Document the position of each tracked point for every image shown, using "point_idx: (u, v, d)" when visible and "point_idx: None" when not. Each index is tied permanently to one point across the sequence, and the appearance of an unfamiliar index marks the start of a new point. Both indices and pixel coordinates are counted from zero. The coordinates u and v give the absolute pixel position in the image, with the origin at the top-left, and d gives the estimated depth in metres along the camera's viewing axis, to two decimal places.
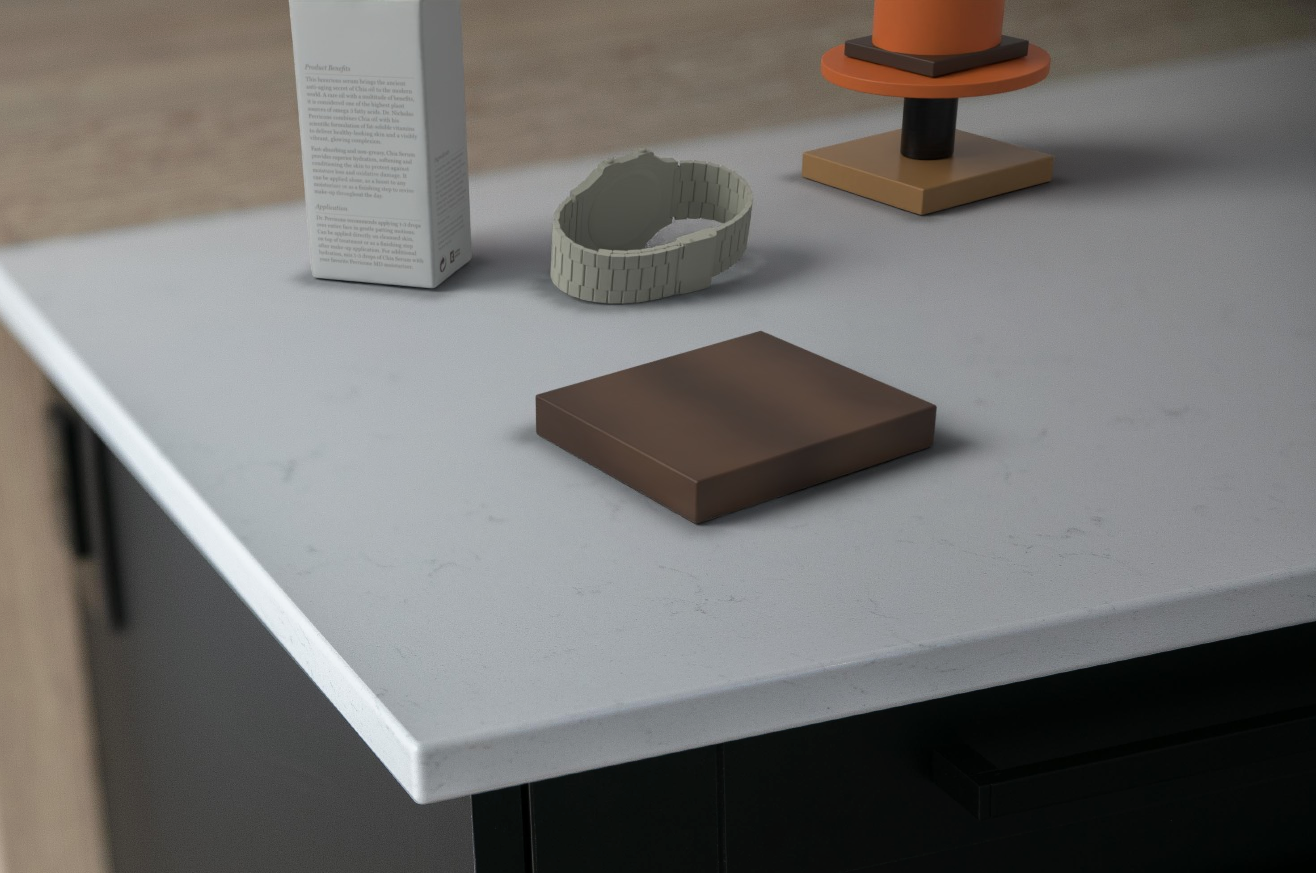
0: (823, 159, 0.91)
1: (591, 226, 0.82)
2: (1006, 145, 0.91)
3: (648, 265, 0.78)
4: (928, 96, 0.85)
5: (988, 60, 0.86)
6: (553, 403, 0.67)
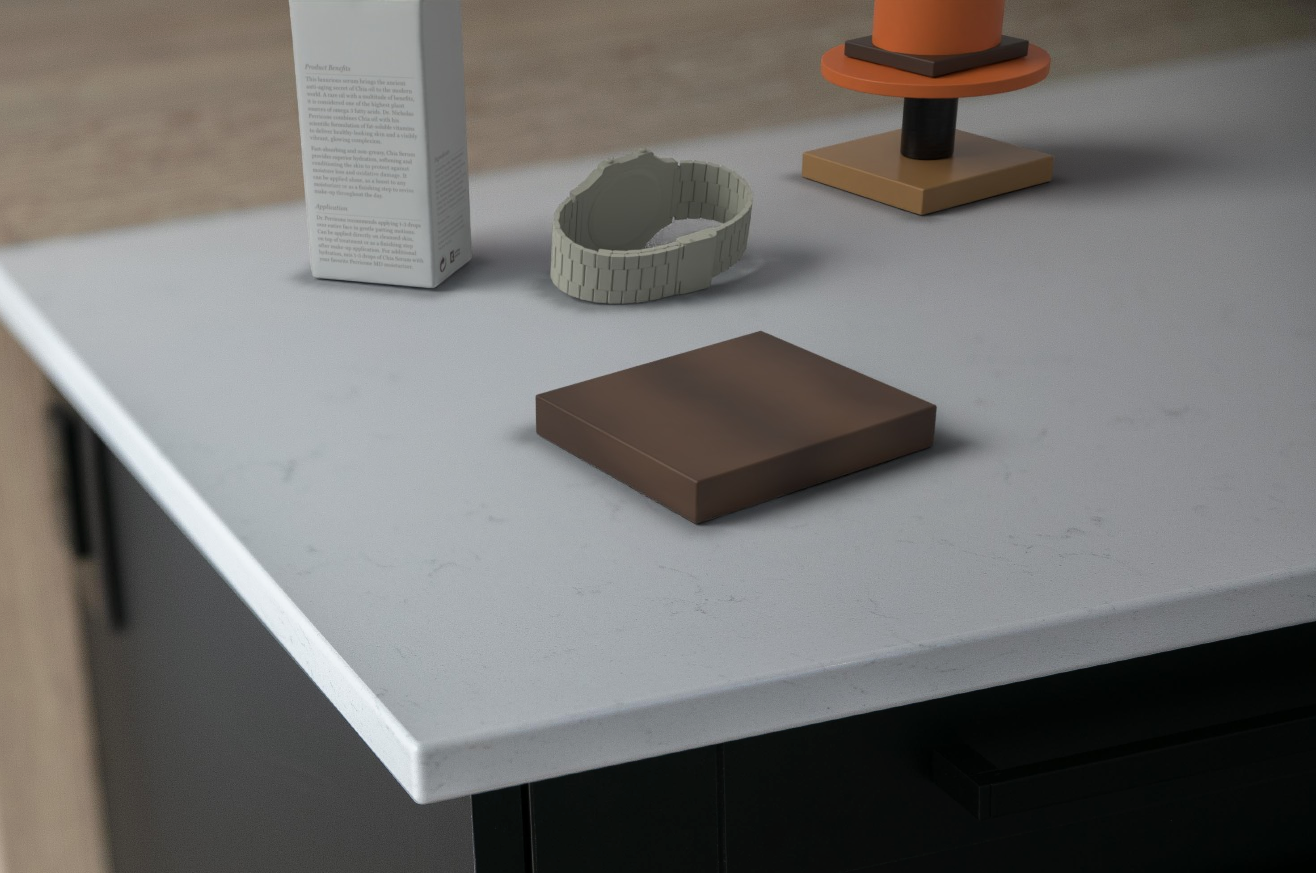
0: (823, 159, 0.91)
1: (591, 226, 0.82)
2: (1006, 145, 0.91)
3: (648, 265, 0.78)
4: (928, 96, 0.85)
5: (988, 60, 0.86)
6: (553, 403, 0.67)
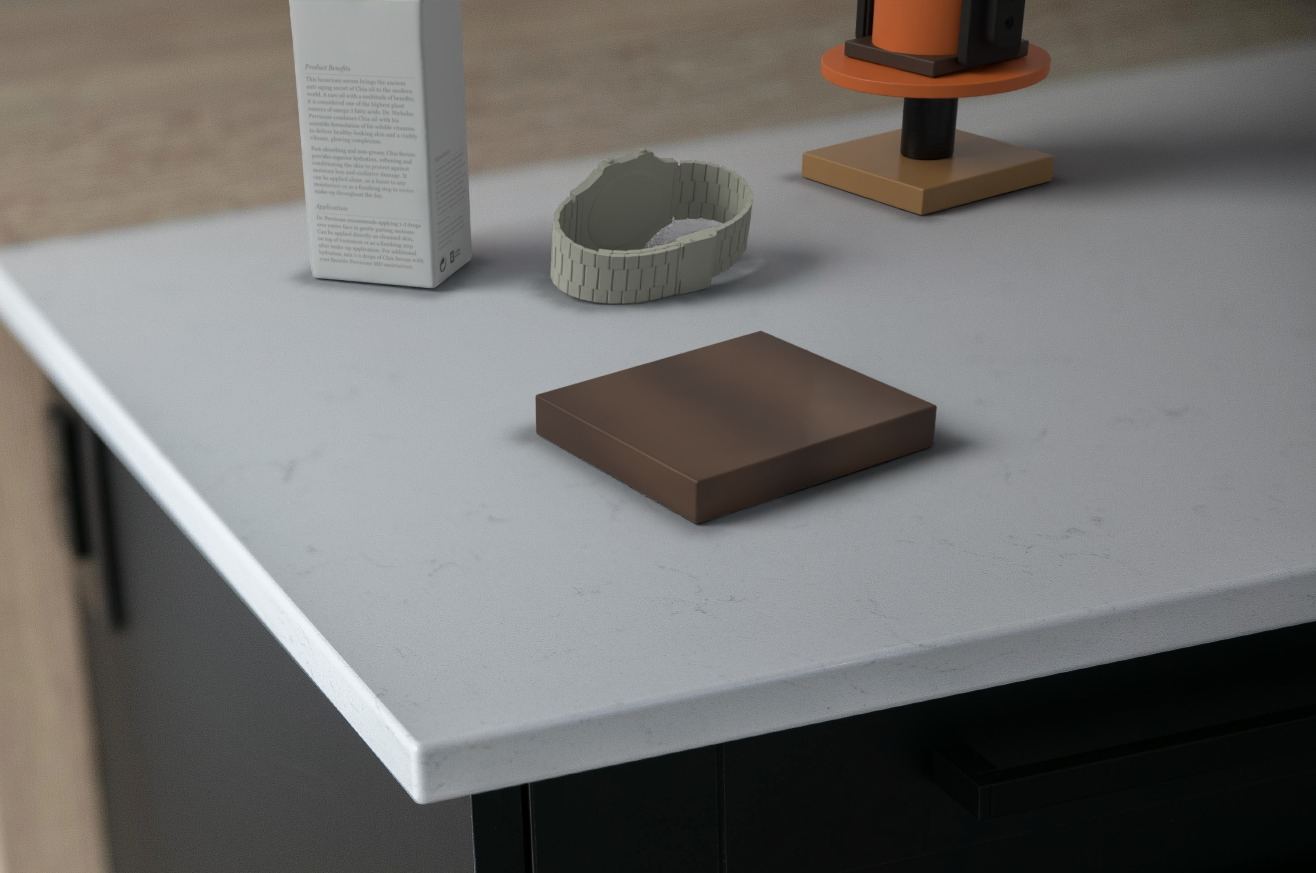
0: (823, 159, 0.91)
1: (591, 226, 0.82)
2: (1006, 145, 0.91)
3: (648, 265, 0.78)
4: (928, 96, 0.85)
5: None
6: (553, 403, 0.67)
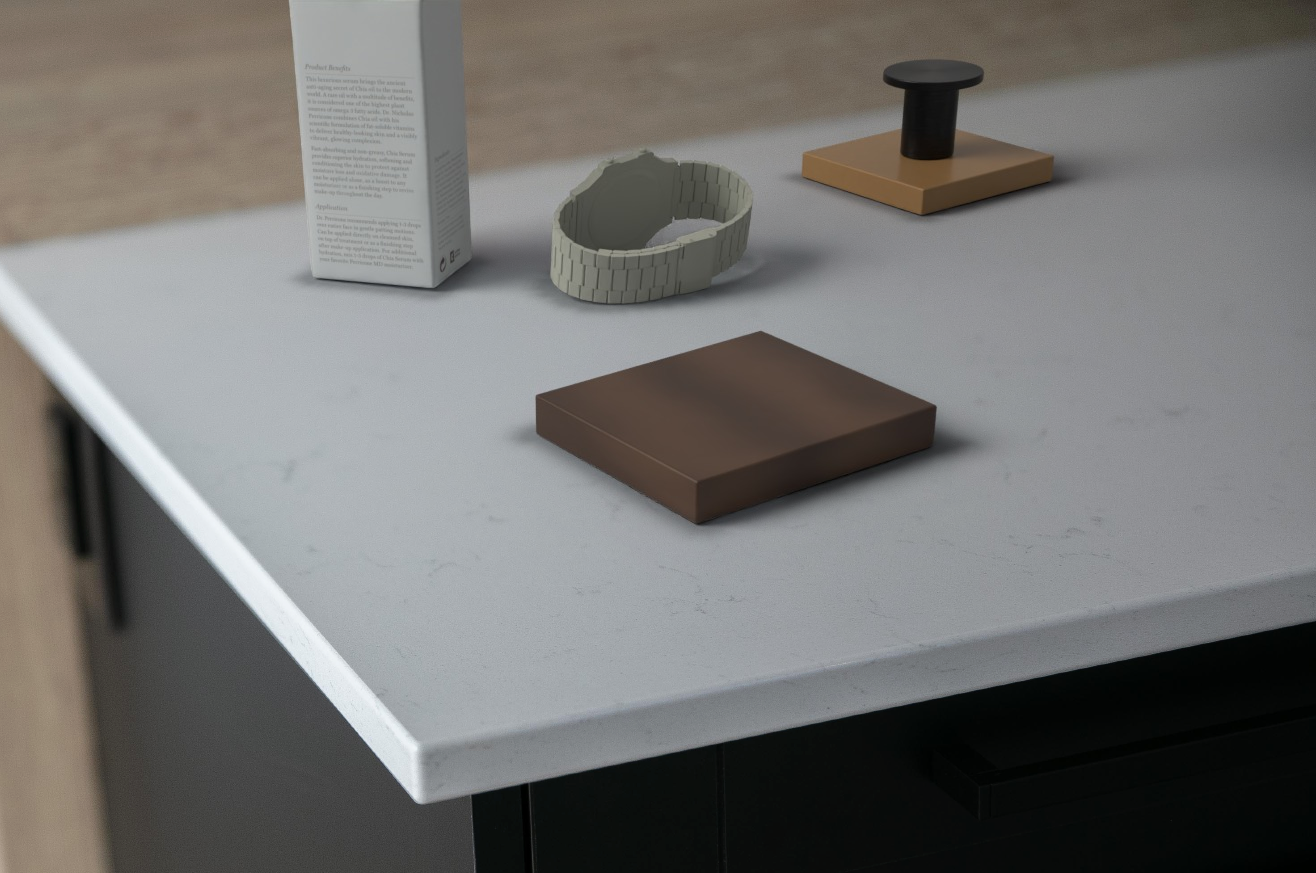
0: (823, 159, 0.91)
1: (591, 226, 0.82)
2: (1006, 145, 0.91)
3: (648, 265, 0.78)
4: None
5: None
6: (553, 403, 0.67)
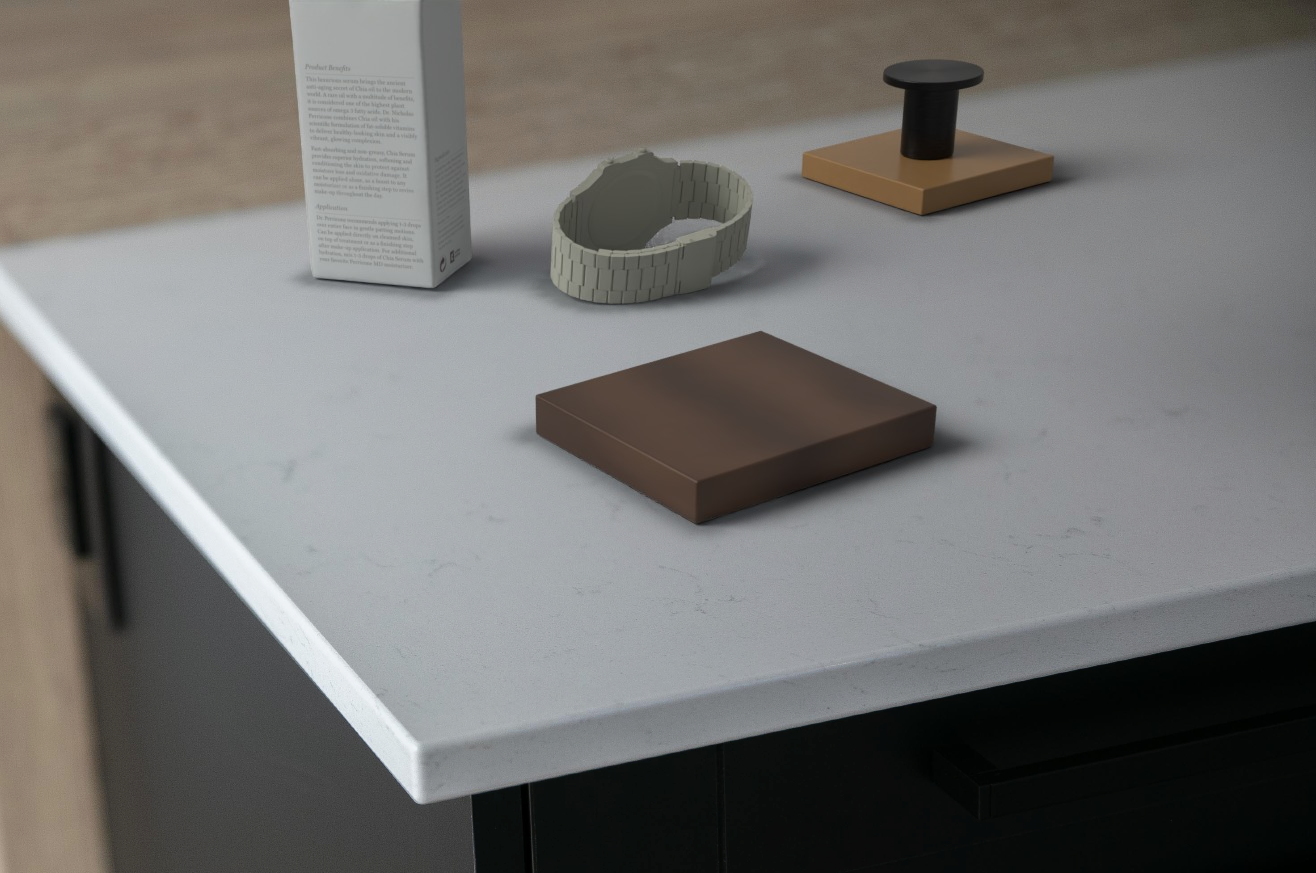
0: (823, 159, 0.91)
1: (591, 226, 0.82)
2: (1006, 145, 0.91)
3: (648, 265, 0.78)
4: None
5: None
6: (553, 403, 0.67)
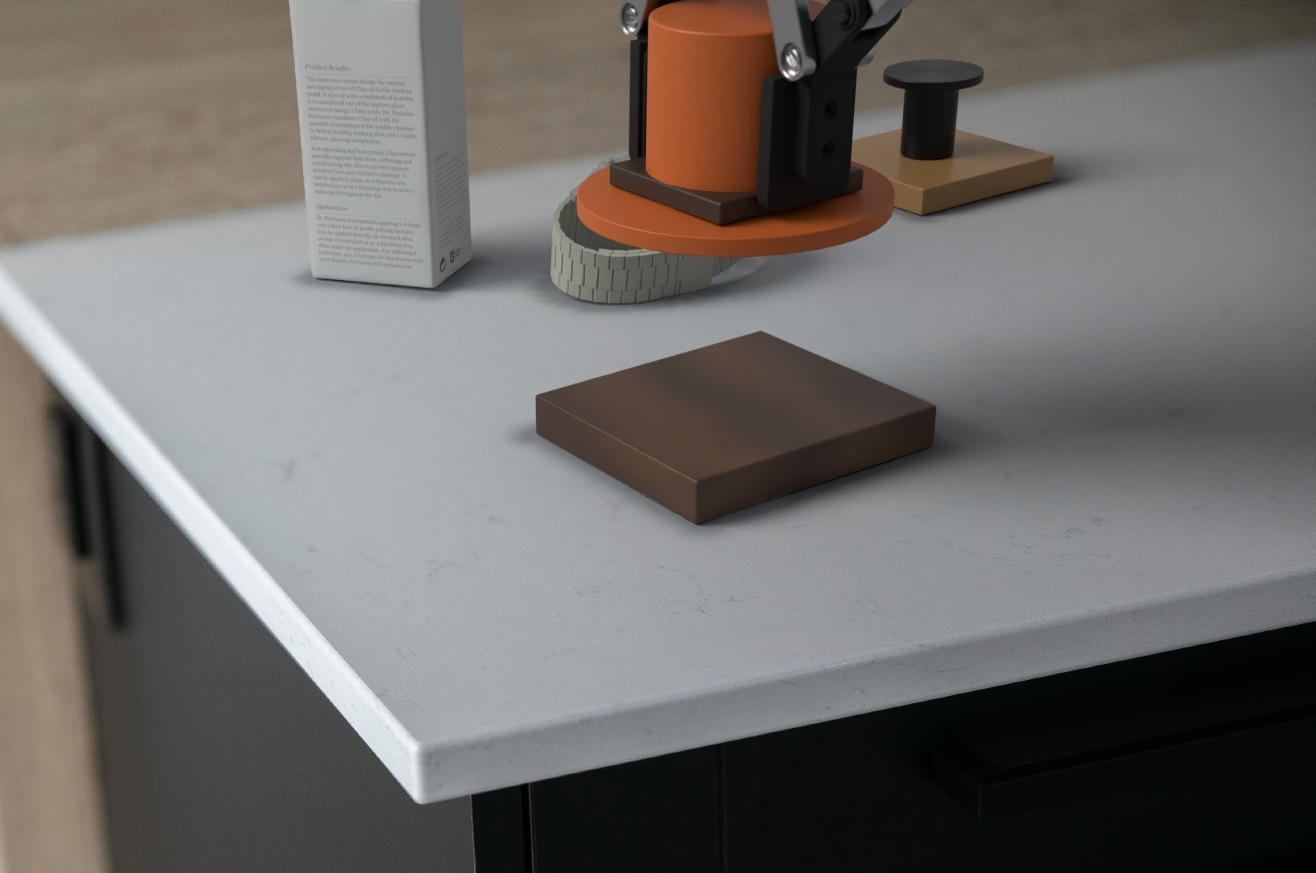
0: None
1: None
2: (1006, 145, 0.91)
3: (648, 265, 0.78)
4: (711, 254, 0.59)
5: None
6: (553, 403, 0.67)
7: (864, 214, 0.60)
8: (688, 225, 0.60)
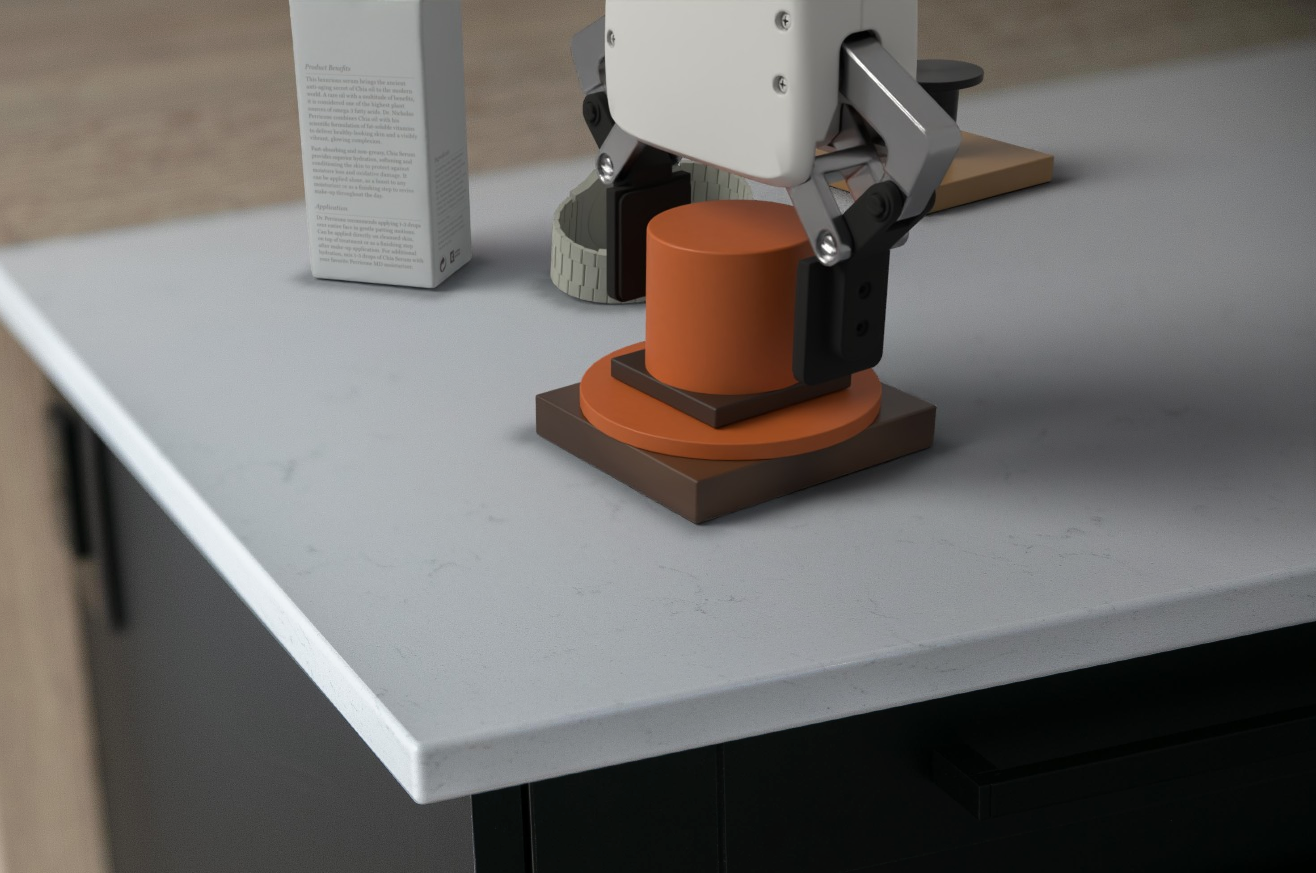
0: None
1: (591, 226, 0.82)
2: (1006, 145, 0.91)
3: None
4: (707, 458, 0.62)
5: (794, 398, 0.64)
6: (553, 403, 0.67)
7: (852, 415, 0.63)
8: (685, 427, 0.63)
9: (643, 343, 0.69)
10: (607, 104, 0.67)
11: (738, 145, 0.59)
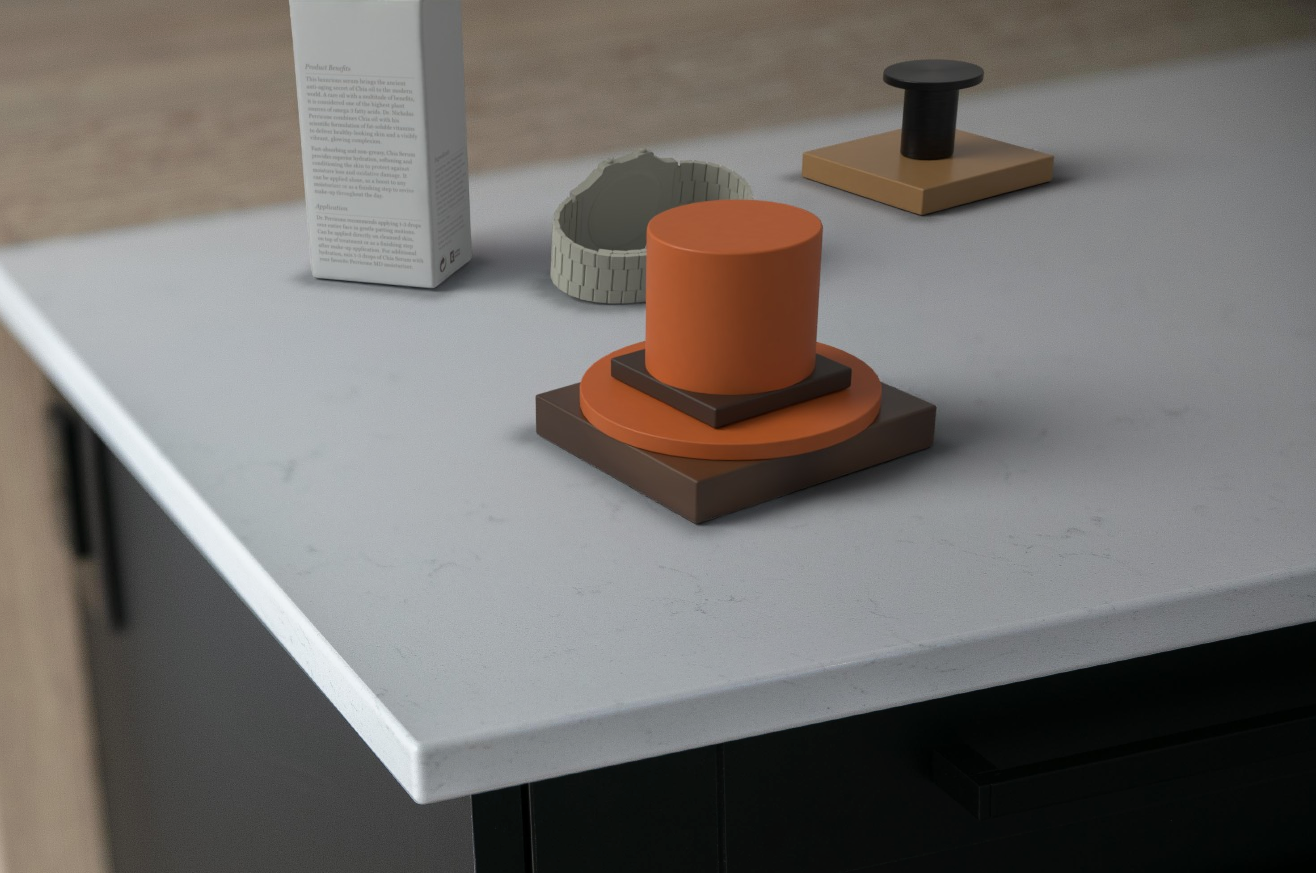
0: (823, 159, 0.91)
1: (591, 226, 0.82)
2: (1006, 145, 0.91)
3: None
4: (707, 458, 0.62)
5: (794, 398, 0.64)
6: (553, 403, 0.67)
7: (852, 415, 0.63)
8: (685, 427, 0.63)
9: (643, 343, 0.69)
10: None
11: None
